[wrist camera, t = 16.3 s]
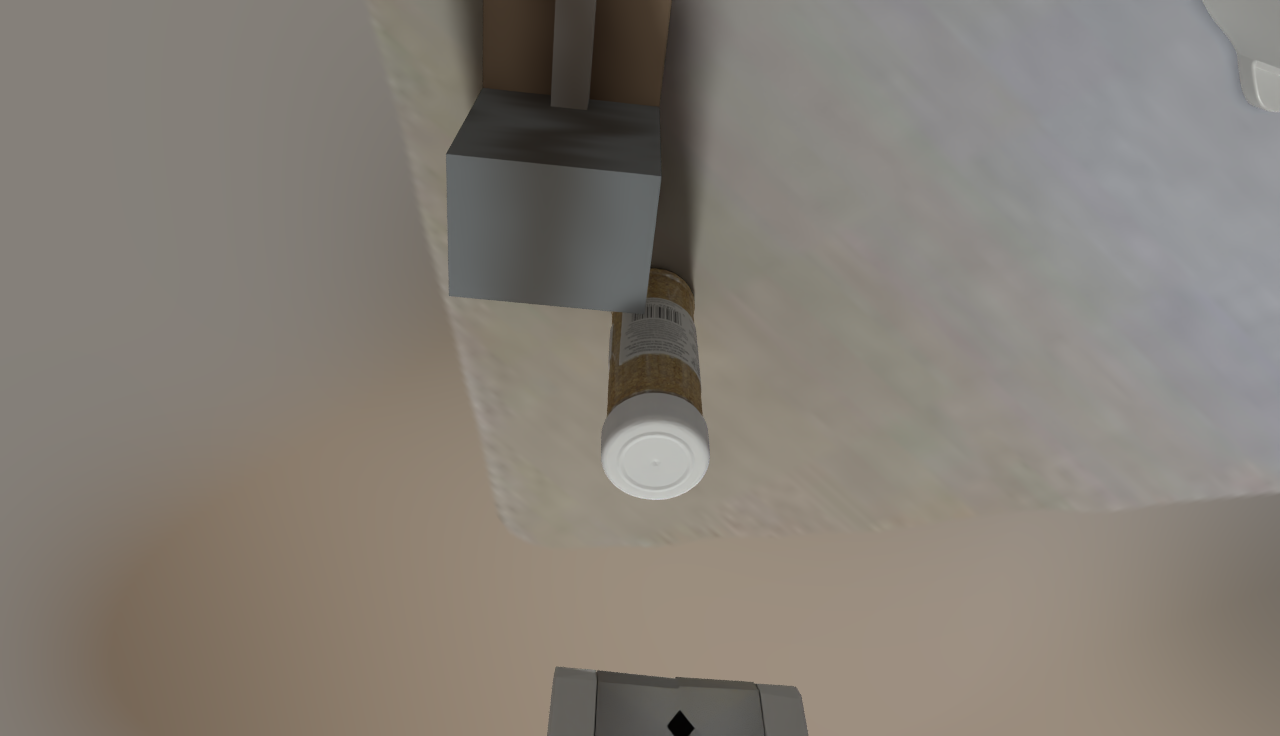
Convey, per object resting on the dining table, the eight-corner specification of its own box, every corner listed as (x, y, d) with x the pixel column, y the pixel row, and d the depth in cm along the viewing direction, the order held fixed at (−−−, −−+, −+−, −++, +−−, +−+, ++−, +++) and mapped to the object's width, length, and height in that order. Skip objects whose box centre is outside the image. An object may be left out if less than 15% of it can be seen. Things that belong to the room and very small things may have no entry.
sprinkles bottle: (599, 322, 48) (584, 486, 36) (630, 252, 45) (623, 404, 34) (676, 348, 49) (684, 516, 37) (710, 281, 46) (729, 439, 35)
